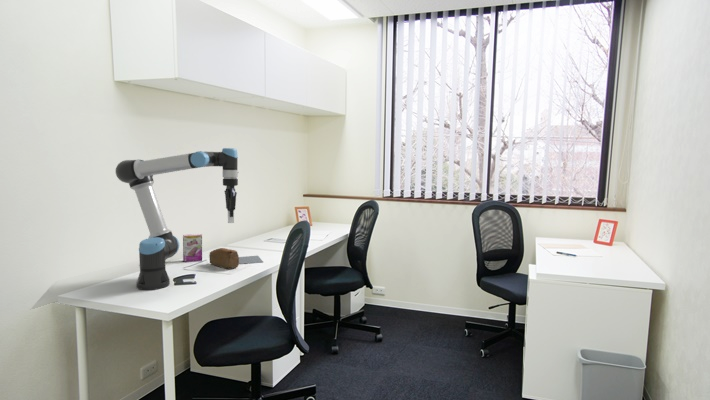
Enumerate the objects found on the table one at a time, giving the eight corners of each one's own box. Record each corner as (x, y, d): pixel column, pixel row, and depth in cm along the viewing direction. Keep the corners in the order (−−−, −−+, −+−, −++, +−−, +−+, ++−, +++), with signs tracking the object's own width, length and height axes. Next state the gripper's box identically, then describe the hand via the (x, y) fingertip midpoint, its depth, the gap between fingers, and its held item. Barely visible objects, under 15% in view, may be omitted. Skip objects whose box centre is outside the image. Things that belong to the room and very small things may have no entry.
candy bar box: (183, 262, 266) (182, 235, 265) (183, 260, 271) (182, 234, 269) (202, 260, 271) (202, 234, 269) (202, 259, 275) (201, 233, 274)
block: (229, 270, 249) (208, 265, 261) (240, 267, 255) (219, 262, 267) (229, 251, 248) (207, 247, 260) (239, 249, 254) (218, 245, 266)
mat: (230, 265, 261) (230, 264, 261) (226, 258, 278) (226, 257, 278) (263, 262, 269) (263, 261, 269) (257, 256, 286) (257, 255, 286)
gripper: (241, 178, 223) (242, 224, 225) (233, 177, 234) (234, 220, 236) (226, 178, 219) (227, 225, 221) (219, 177, 230) (220, 221, 232)
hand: (230, 222), depth 229 cm, fingers closed
